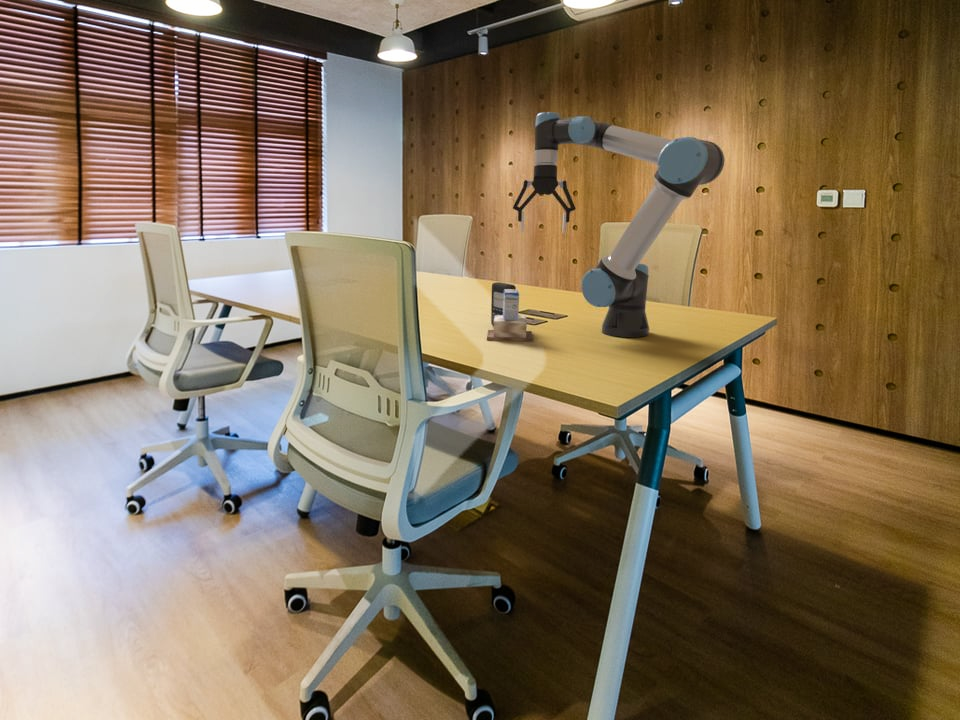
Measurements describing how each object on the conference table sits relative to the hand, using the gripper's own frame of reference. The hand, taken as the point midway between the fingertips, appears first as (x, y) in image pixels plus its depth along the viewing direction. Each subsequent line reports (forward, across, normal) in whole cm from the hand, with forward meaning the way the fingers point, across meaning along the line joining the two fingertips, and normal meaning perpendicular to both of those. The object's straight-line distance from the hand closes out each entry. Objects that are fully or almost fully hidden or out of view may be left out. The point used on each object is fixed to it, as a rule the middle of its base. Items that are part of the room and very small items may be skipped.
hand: (543, 232), depth 199 cm
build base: (+32, +10, +17) cm, 37 cm away
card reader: (+32, +13, +2) cm, 34 cm away
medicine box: (+26, +10, +17) cm, 32 cm away
